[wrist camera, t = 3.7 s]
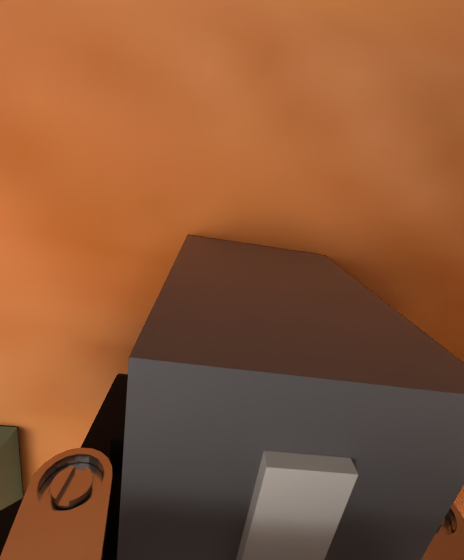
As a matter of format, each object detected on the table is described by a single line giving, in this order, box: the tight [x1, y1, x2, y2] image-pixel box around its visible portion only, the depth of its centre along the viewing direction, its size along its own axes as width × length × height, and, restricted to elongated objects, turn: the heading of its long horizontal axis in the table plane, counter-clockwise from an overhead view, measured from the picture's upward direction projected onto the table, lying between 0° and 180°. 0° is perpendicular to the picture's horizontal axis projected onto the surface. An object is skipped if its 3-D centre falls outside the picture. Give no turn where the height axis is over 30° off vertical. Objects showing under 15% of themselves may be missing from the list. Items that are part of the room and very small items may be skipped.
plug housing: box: [117, 235, 464, 560], centre depth 7 cm, size 9×4×6 cm, turn 171°
